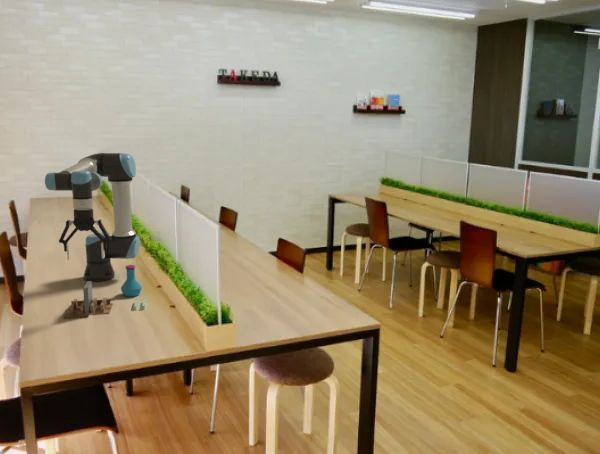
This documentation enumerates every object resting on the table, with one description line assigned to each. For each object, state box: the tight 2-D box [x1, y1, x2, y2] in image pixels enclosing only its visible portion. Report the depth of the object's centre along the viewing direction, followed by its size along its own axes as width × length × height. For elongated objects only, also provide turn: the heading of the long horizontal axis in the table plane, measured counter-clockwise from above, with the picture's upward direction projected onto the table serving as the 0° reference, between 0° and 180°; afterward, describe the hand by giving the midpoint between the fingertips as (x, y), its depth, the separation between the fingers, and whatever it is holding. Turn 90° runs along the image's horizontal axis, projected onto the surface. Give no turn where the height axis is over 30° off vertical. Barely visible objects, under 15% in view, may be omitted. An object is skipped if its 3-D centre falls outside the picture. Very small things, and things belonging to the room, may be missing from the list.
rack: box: [62, 297, 114, 319], centre depth 235 cm, size 13×18×4 cm
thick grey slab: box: [82, 280, 94, 313], centre depth 235 cm, size 10×2×11 cm, turn 12°
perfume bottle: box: [120, 264, 142, 298], centre depth 256 cm, size 9×9×15 cm
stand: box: [131, 298, 149, 312], centre depth 241 cm, size 11×6×3 cm, turn 12°
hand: (86, 258), depth 232 cm, fingers open, 13 cm apart
